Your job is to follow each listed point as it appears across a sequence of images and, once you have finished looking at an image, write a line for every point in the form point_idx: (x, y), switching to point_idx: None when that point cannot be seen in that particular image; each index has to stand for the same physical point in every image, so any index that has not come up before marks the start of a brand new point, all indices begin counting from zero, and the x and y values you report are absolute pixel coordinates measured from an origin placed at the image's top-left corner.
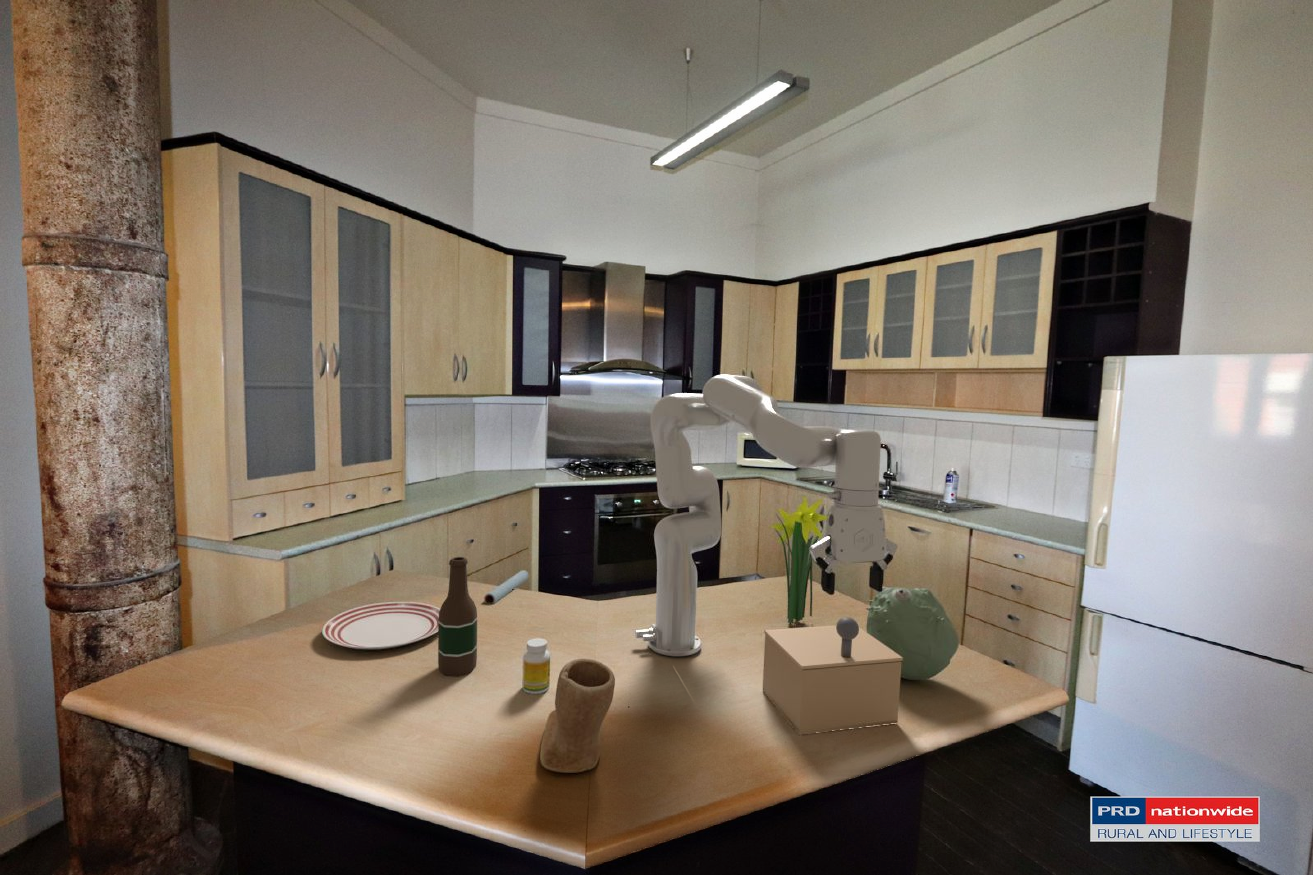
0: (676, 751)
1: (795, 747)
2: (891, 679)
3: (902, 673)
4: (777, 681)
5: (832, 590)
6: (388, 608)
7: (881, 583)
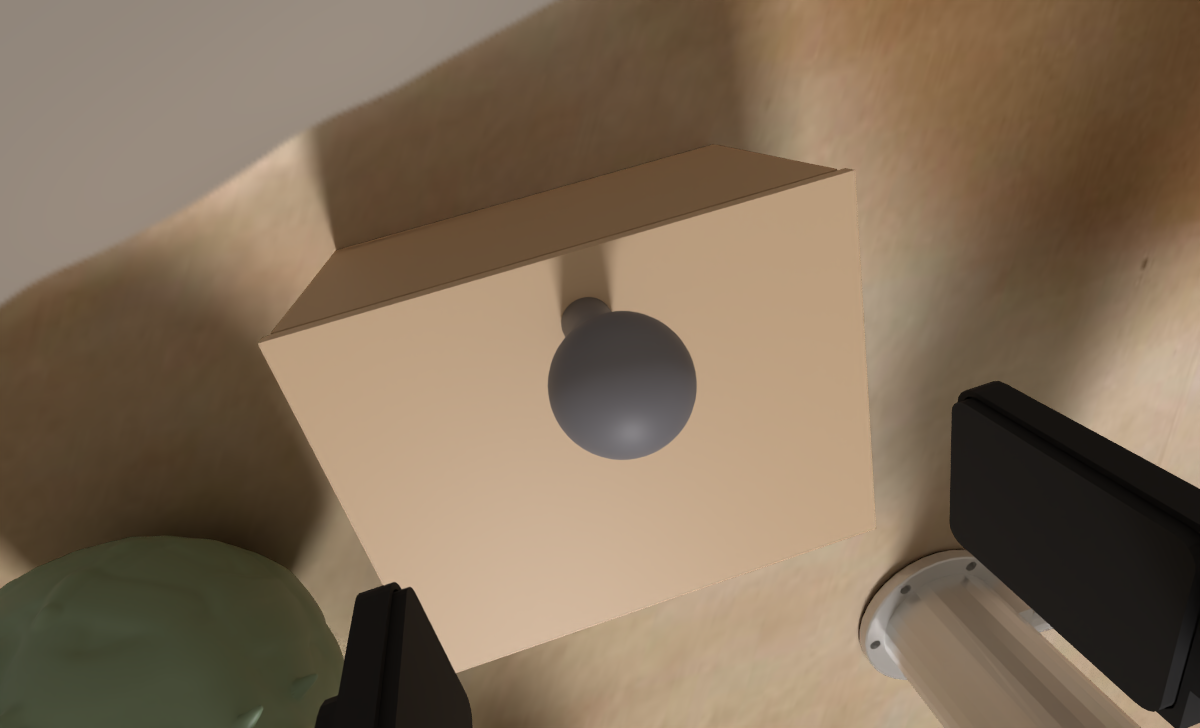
0: (1099, 27)
1: (745, 69)
2: (344, 288)
3: (234, 546)
4: None
5: (1016, 404)
6: None
7: (360, 667)
